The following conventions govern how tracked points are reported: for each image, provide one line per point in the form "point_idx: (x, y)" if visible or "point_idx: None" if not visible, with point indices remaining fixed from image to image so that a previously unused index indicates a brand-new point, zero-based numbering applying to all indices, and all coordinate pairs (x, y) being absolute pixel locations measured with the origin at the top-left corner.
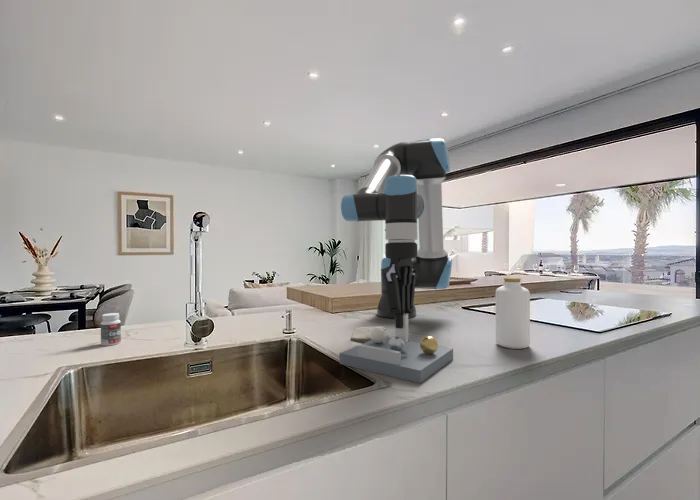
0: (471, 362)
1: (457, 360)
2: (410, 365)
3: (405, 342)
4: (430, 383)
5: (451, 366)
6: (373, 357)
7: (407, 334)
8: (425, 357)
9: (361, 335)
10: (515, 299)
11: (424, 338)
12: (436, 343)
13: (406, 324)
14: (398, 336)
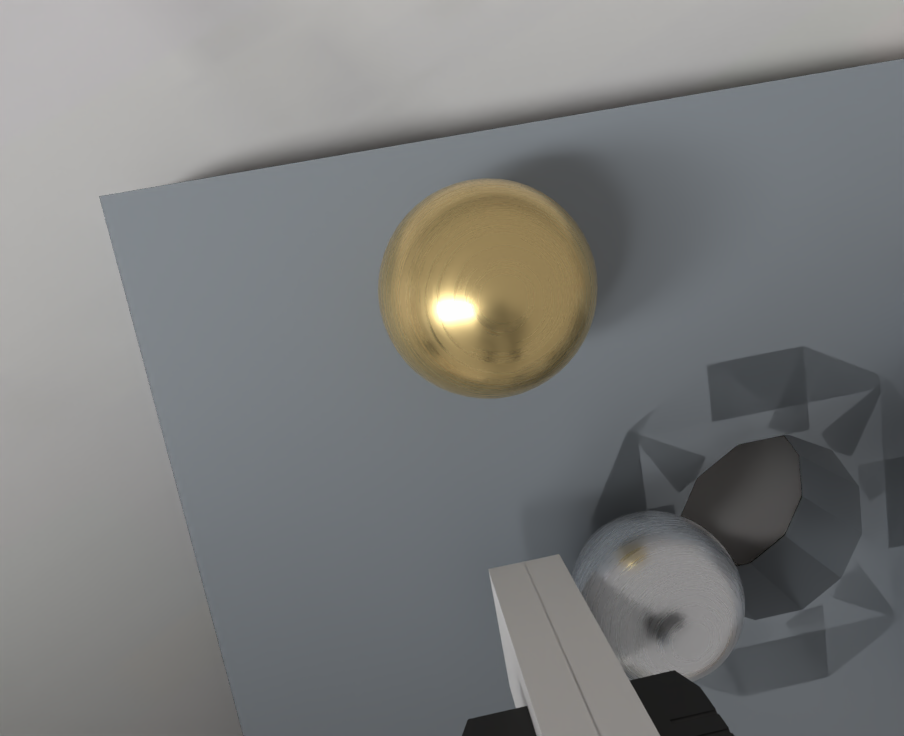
0: (84, 4)
1: (140, 147)
2: (892, 201)
3: (557, 557)
4: (827, 13)
5: (346, 98)
6: None
7: (529, 607)
8: (605, 235)
9: None
10: None
11: (565, 325)
12: (485, 184)
13: (595, 685)
14: (668, 626)
